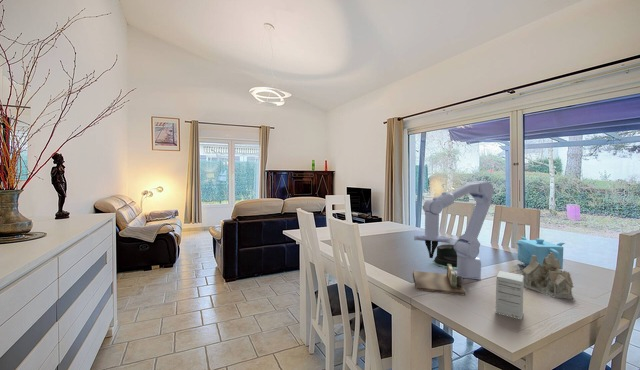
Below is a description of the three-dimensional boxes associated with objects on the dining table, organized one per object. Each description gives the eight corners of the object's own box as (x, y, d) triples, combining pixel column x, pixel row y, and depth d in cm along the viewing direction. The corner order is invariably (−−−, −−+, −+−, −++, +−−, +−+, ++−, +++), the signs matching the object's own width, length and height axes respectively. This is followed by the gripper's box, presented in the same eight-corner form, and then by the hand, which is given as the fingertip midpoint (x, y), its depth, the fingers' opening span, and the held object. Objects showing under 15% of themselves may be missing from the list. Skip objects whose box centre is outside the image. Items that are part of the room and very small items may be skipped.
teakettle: (560, 277, 129) (561, 245, 128) (511, 267, 143) (512, 238, 142) (564, 268, 142) (566, 239, 142) (519, 259, 156) (520, 233, 155)
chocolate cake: (454, 256, 161) (454, 240, 161) (480, 268, 142) (481, 249, 141) (422, 258, 157) (423, 242, 157) (445, 270, 138) (445, 251, 138)
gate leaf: (446, 274, 128) (446, 263, 128) (451, 275, 127) (451, 264, 127) (451, 287, 113) (451, 275, 113) (456, 288, 112) (457, 276, 112)
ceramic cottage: (517, 279, 127) (520, 246, 125) (564, 287, 119) (568, 252, 118) (524, 294, 113) (528, 258, 111) (578, 304, 105) (583, 266, 104)
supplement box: (497, 305, 101) (499, 270, 101) (523, 311, 97) (524, 275, 96) (494, 312, 96) (495, 275, 95) (521, 320, 91) (523, 281, 90)
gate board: (455, 276, 129) (455, 265, 129) (465, 295, 109) (466, 282, 109) (413, 272, 133) (413, 262, 133) (416, 289, 114) (416, 277, 114)
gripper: (414, 227, 124) (413, 258, 125) (450, 230, 120) (449, 261, 120) (414, 224, 131) (414, 253, 132) (449, 227, 126) (448, 257, 127)
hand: (431, 257), depth 126 cm, fingers closed
